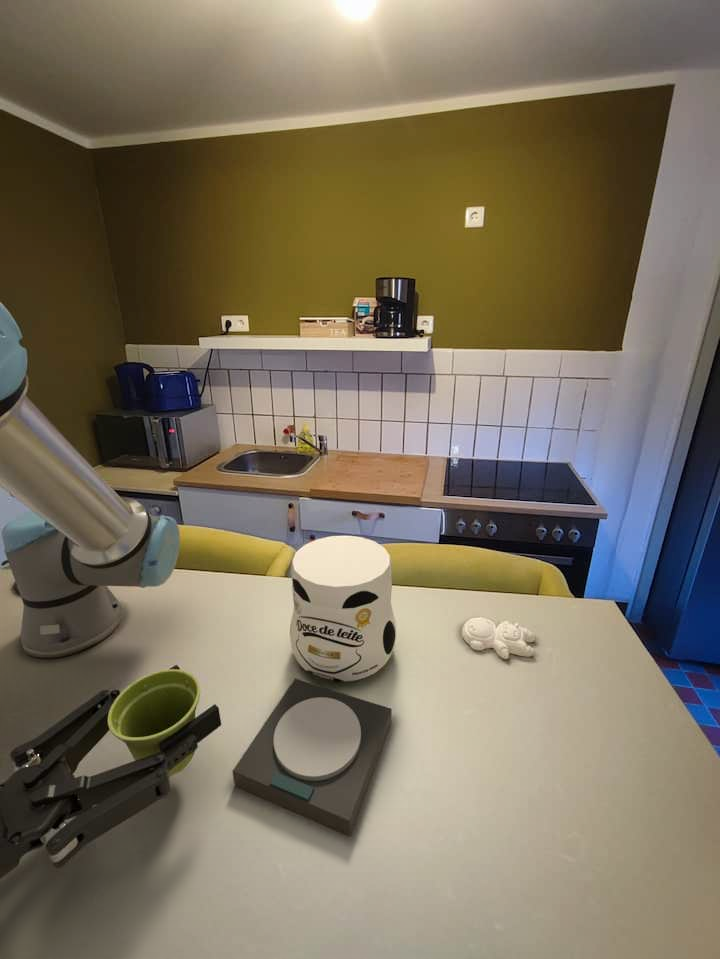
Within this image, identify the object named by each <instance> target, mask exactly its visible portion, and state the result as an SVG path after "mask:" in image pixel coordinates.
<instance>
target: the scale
mask: <svg viewBox="0 0 720 959" xmlns="http://www.w3.org/2000/svg"><path fill="white" fill-rule="evenodd" d="M392 711H393V710H392V708H390V707H388V706H384V705H380V704H377V703H374V702H371V701H369V700H365V699H362V698H359V697H355V696H353V695H349V694H347V693H343V692H340V691H337V690H334V689H330V688H328V687H324V686H321V685H319V684H315V683H313V682H312V683H311V682H309V681H305V680H302V679H299V678H295V677H294V679H293V681H292V682H291V683H290V684H289V687H288V688H287V690H286V691H285V692H284V694H283V696H282V697H281V698H280V700H279V701H278V703H277V704H276V706H275V708H274V709H273V710H272V712H271V713H270V715H269V717H268V718H267V719H266V721H265V722H264V723H263V725H262V726H261V728H260V730H259V731H258V732H257V734H256V735H255V737H254V738H253V740H252V741H251V743H250V744H249V746H248V747H247V749H246V750H245V751H244V753H243V755H242V756H241V758H240V759H239V761H238V762H237V764H236V765H235V767H233V769H232V770H231V771H232V778H233V785H234V786H235V787H237V788H239V789H241V790H244V791H246V792H248V793H251V794H253V795H255V796H257V797H259V798H262V799H264V800H265V801H269V802H271V803H274V804H276V805H278V806H280V807H282V808H285V809H287V810H289V811H291V812H293V813H296V814H298V815H300V816H303V817H304V818H305V817H306V818H307V819H309V820H312V821H314V822H317V823H319V824H321V825H323V826H325V827H328V828H330V829H333V830H335V831H337V832H339V833H342V834H344V835H346V836H349V837H351V835H352V832H353V829H354V826H355V824H356V821H357V818H358V815H359V813H360V810H361V807H362V805H363V802H364V800H365V796H366V794H367V790H368V787H369V786H370V782H371V779H372V777H373V775H374V771H375V768H376V766H377V763H378V760H379V757H380V755H381V752H382V749H383V746H384V745H385V744H384V743H385V741H386V739H387V735H388V732H389V731H390V727H391V725H392V719H393V718H392V714H393V712H392Z"/></svg>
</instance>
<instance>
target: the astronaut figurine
mask: <svg viewBox="0 0 720 959" xmlns="http://www.w3.org/2000/svg"><path fill="white" fill-rule="evenodd" d="M461 635H462V638H463V639H464V641H465V642H466V643H467V644H468V645H469V646H470V648H471V649H472V650H474V651H483V650H484V649H485V650H487V649H493V650H494V651H495V652H496V654H497V655H498V657H500V658H502V659H503V660H508V659H509V657H510V654H512V655H516V656H520V657H526V658H529V657H531V656H532V657H533V655H534V653H535V650H534V649H533V648H532V646H531V645H528V643H533V642H534V641H535V640H536V634H534V633H533V631H531V630H529V629H528V628H526V627H522V626H519V623H518V622H515V623H514V624H513V623H511V622H510V621H508V620H504V621H501V622H500V623H499V624H498V625H497V626H496V624H495V623H494V622H493V621H492V620H491V619H488V618H486V617H484V616H478V617H472V618H470V619H468V620H466V621H465V623H464V624H463V626H462V630H461Z"/></svg>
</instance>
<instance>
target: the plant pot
mask: <svg viewBox="0 0 720 959" xmlns="http://www.w3.org/2000/svg"><path fill="white" fill-rule="evenodd" d="M168 669H169V670H168ZM168 669H162V670H157V671H155V672H151V673H149V674H147V675H144V676H142V677H141V678H139V679H137V680H135V681H133V682H132V683H130V684H129V685H128V686H127V687H126V688H125V689H123V690H122V691H121V692H120V695H119V696H118V697H117V698H116V699H115V701H114V703H113V704H112V706H111V708H110V710H109V714H108V726H109V729H110V730H109V731H110V733H111V734H112V735H113V736H114V737H115V738H116V739H118V740H120V741H122V743H124V744H125V745H126V747H127V748H128V751H129V752H130V754H131V755H132V757H133V759H134V761H136V760H139V759H141V758H144V757H147V756H150V755H153V754H155V753H158V752H161V751H160V747H159V743H161V742H162V741H164V740H165V739H166V738H168V737H169V736H171V735H172V734H174V733H175V732H177V731H178V730H179V729H181V728H182V727H183V726H185V725H186V724H188V723H189V722H190V721H192V720H193V719H195V718H196V710H197V708H198V704H199V701H200V698H201V684H200V682H199V680H198V678H197V677H196V675H194V674H193V673H191V672H189V671H186V670H184V669H180V670H177V669H170V668H168ZM141 690H142V691H141ZM195 753H196V750H195V751H194V752H193V753H192V754H190V755H189V756H188V757H186V758H185V759H184V760H182V761H181V762H180V763H179V764H177V765H176V766H175V767H173V768H172V769H171V771H170V773H169V775H170V777H171V776H172V775H174V774H175V775H176V774H178V773H180V772H181V771H183V770H184V769H185V768H186V767H187V766H188V765H189V764H190V762H191V761H192V759H193V757H194V756H195V755H194V754H195ZM152 769H153V768H152Z"/></svg>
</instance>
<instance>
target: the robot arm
mask: <svg viewBox="0 0 720 959" xmlns="http://www.w3.org/2000/svg"><path fill="white" fill-rule="evenodd" d="M20 340H23V334H22V332H21V330H20V328H19V325H18V323H17V322H16V320H15V319H14V317H13V315H12V314H11V313H10V311H9V310H8V309H7V308H6V306H5V305H4V304H3V303H2V302H1V301H0V488H1V489H2V490H4V491H6V492H7V493H8V494H10V495H11V497H13V498H15V499H16V500H17V501H19V502H20V503H21V504H22V505H24V506H25V507H27V508H28V509H29V510H30V511H27V512H24V513H23V514H20V515H19V516H17V517H15V518H13V519H11V520H10V521H8V522H7V523H6V524H5V525H4V526H3V528H2V530H1V538H2V542H3V552H4V553H5V554H4V555H5V557H6V560H3V561H2V562H1V566H5V565H7V564H9V567H10V570H11V573H12V575H13V577H14V583H13V588H14V590H15V591H16V592H17V593H19V595H20V597H21V600H22V601H21V602H22V604H23V610H22V618H21V629H20V642H21V646H22V648H23V650H24V652H25V653H26V654H28V656H31V657H33V658H39V659H54V658H61V657H66V656H70V655H73V654H77V653H79V652H82V651H84V650H86V649H89V648H90V647H93V646H95V645H96V644H98V643H100V642H102V641H103V640H105V639H106V638H107V637H109V636H110V635H111V634H112V633H113V632H114V631H115V630H116V629H117V628H118V626H119V625H120V623H121V621H122V619H123V610H122V606H121V604H120V602H119V600H118V598H117V597H116V595H115V594H114V593H113V592H112V591H111V590H110V588H109V587H133V588H142V589H145V588H148V587H149V588H151V587H152V588H154V587H160V586H162V585H164V584H165V583H167V581H168V580H169V579H170V577H171V576H172V575H173V572H174V570H175V568H176V566H177V561H178V558H179V553H180V544H181V534H180V528H179V525H178V523H177V520H175V519H174V518H173V517H172V516H166V515H164V514H161V515H153V514H150V512H149V511H148V510H147V509H146V508H145V507H144V505H143V504H141V502H139V501H137V500H135V499H134V498H131V497H127V496H120V495H119V493H117V492H116V491H115V490H114V489H113V488H112V486H110V484H108V482H107V481H106V480H105V479H104V478H103V476H101V475H100V473H98V471H96V469H95V468H94V467H93V466H92V465H91V464H90V463H89V462H88V461H87V459H85V457H83V455H82V454H81V453H80V452H79V451H78V450H77V449H76V448H75V447H74V445H73V444H72V443H71V442H70V441H68V439H67V438H66V437H65V436H64V435H63V433H61V432H60V431H59V430H58V429H57V427H56V426H55V425H54V424H53V423H52V422H51V421H50V420H49V419H48V418H47V417H46V416H45V415H44V413H43V412H42V411H41V410H40V409H39V408H38V407H37V406H36V405H35V403H34V402H32V401H31V399H29V397H28V396H27V392H28V388H29V377H28V374H27V370H28V368H27V367H28V353H27V349H26V348H25V347H23V346H22V345H21V344H20ZM169 669H177V670H181V669H180V667H179V665H178V664H175V665H173V666H172V667H170V668H168V669H167V670H169ZM141 691H142V690H141ZM120 694H121V691H120V690H119V689H112V690H111V691H110V690H108V689H103V690H101V691H100V692H98V693H97V694H95V695H94V696H92V697H91V698H90V699H88V700H87V701H86V702H84V703H82V704H81V705H80V706H79V707H77V708H76V709H74V710H73V711H72V712H70V713H69V714H67V715H66V716H65V717H63V718H61V720H59V721H58V722H56V723H55V724H53V725H52V726H51V727H49V728H48V729H46V730H45V731H43V732H42V733H41V734H40V735H38V736H36V737H35V738H33V739H30V740H28V741H27V742H25V743H23V744H20V745H18V746H16V747H15V748H13V749H12V750H11V751H10V753H9V757H10V759H11V762H12V764H13V767H14V772H13V773H12V774H11V775H10V776H9V777H8V778H7V779H6V780H4V782H2V783H1V784H0V880H1V879H3V878H4V877H6V876H7V875H8V874H9V873H11V872H12V871H14V870H15V869H16V868H17V867H18V865H19V864H20V863H21V862H20V861H21V859H22V858H23V857H24V856H25V855H26V854H28V853H30V852H32V851H34V850H37V849H40V848H42V847H43V848H44V849H45V851H46V852H47V853H48V857H49V858H50V861H51V863H52V866H53V868H54V869H60V868H62V867H63V866H64V865H66V864H67V863H68V862H69V861H70V860H71V859H72V858H73V857H74V856H75V855H76V854H78V853H79V851H81V850H82V849H83V848H84V847H85V846H86V845H88V844H89V843H91V842H93V841H94V840H96V839H98V838H99V837H101V836H103V835H105V834H106V833H107V832H109V831H111V830H112V829H115V827H118V826H119V825H121V824H122V823H124V822H125V821H127V820H129V819H130V818H132V817H134V816H135V815H137V814H138V813H140V812H142V811H144V810H145V809H146V808H148V807H150V806H152V805H153V804H155V803H157V802H158V801H160V800H161V799H163V798H165V797H166V796H168V795H169V794H170V792H171V790H172V787H171V782H170V778H171V776H170V775H169V773H170V771H171V769H172V768H173V767H175V766H176V765H177V764H179V763H180V762H181V761H182V760H184V759H185V758H186V757H188V756H189V755H190V754H192V753H193V752H194V751H195V752H196V750H197V749H198V747H199V745H198V744H199V743H200V742H201V741H202V740H204V739H205V738H207V737H208V736H209V735H210V734H212V733H214V731H215V730H217V729H218V728H220V727H222V720H221V714H220V708H219V706H217V704H215V703H214V704H213V705H212V706H210V707H208V709H206V710H204V711H203V712H202V713H200V714H198V715H197V716H195V719H193V720H192V721H190V722H189V723H188V724H186V725H185V726H183V727H182V728H181V729H179V730H178V731H177V732H175V733H174V734H172V735H171V736H169V737H168V738H166V739H165V740H164V741H162V742H161V743H159V747H160V751H161V752H158V753H155V754H153V755H150V756H147V757H144V758H141V759H139V760H136V761H135V760H133V761H129V762H127V763H125V764H122V765H119V766H116V767H112V768H111V769H108V770H105V771H103V772H99V773H97V774H94V775H91V776H87V775H80V776H76V777H75V775H74V773H76V771H77V769H78V766H79V764H80V762H81V761H82V760H83V759H84V758H86V756H87V755H88V754H89V753H90V752H91V751H92V750H93V749H94V747H96V745H97V744H98V743H99V742H100V741H101V740H102V739H103V738H104V737H105V736H106V735H107V734H108V732H109V731H110V729H109V726H108V714H109V710H110V708H111V706H112V704H113V703H114V701H115V699H116V698H117V697H118V696H119V695H120ZM195 752H194V753H195ZM152 768H153V769H152ZM70 819H71V820H70ZM67 820H70V821H69V822H66V821H67Z"/></svg>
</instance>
